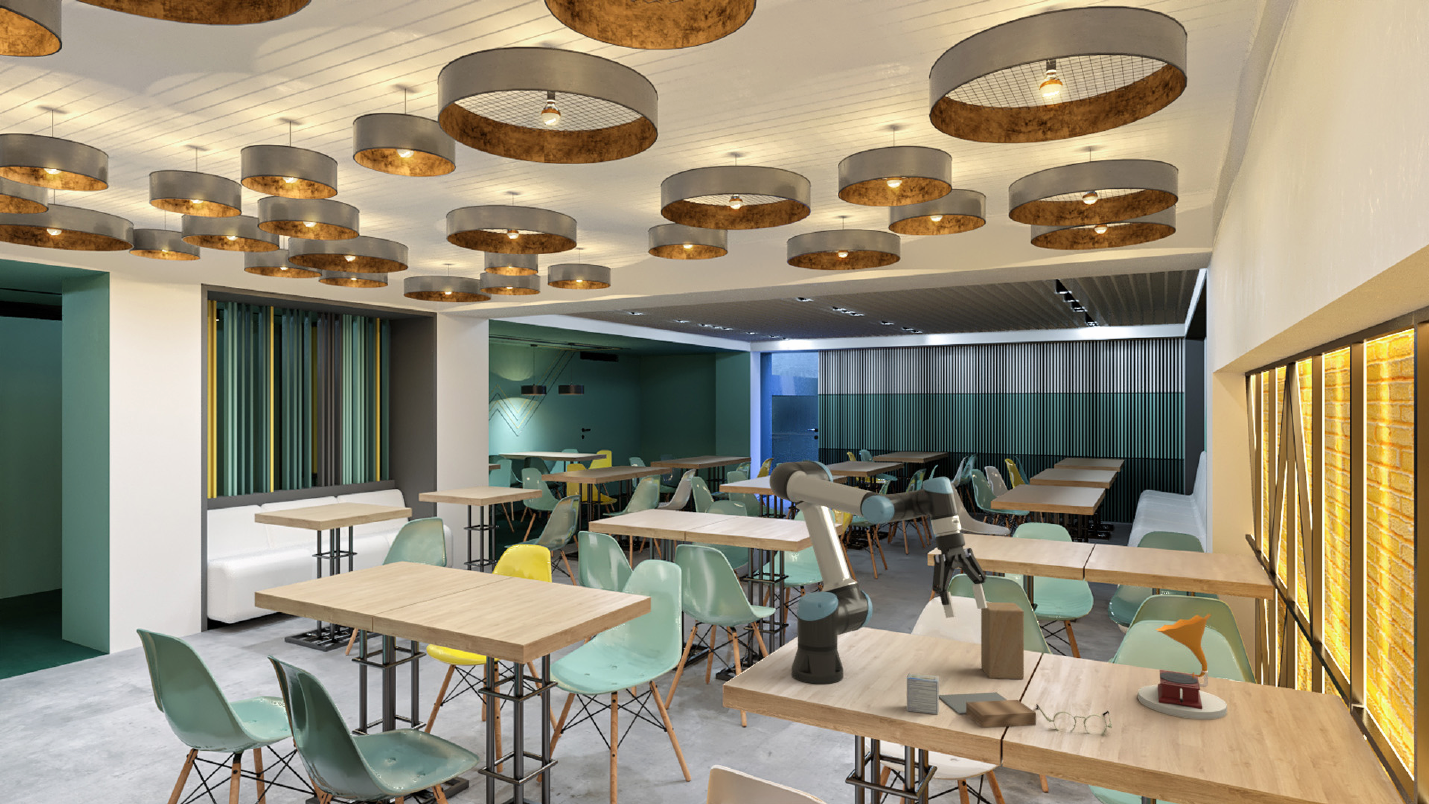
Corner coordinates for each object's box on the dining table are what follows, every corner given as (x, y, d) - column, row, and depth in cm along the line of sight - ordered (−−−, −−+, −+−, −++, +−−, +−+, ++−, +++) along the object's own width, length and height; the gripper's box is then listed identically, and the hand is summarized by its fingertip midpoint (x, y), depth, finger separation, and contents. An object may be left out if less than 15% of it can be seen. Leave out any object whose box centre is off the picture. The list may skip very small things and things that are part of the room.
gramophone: (1223, 699, 218) (1223, 607, 218) (1230, 725, 200) (1230, 624, 200) (1138, 687, 228) (1138, 598, 228) (1137, 710, 210) (1137, 614, 210)
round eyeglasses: (1042, 731, 197) (1042, 710, 197) (1034, 709, 212) (1034, 690, 212) (1118, 738, 193) (1118, 717, 193) (1105, 715, 207) (1105, 696, 207)
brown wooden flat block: (982, 727, 198) (982, 715, 198) (966, 714, 207) (966, 702, 207) (1035, 724, 200) (1035, 712, 200) (1017, 711, 209) (1017, 699, 209)
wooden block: (1014, 668, 243) (1014, 602, 243) (1024, 679, 233) (1024, 610, 234) (980, 667, 244) (980, 601, 244) (988, 678, 234) (988, 609, 235)
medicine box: (939, 709, 210) (939, 675, 210) (938, 715, 206) (938, 681, 206) (908, 705, 213) (908, 672, 213) (906, 711, 208) (906, 677, 208)
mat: (958, 714, 206) (958, 712, 206) (937, 696, 219) (937, 695, 219) (1020, 711, 209) (1021, 709, 209) (996, 693, 222) (996, 692, 222)
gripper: (929, 537, 210) (948, 620, 205) (987, 526, 224) (1006, 603, 220) (907, 541, 216) (925, 621, 211) (965, 530, 230) (983, 605, 226)
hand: (967, 612), depth 216 cm, fingers open, 13 cm apart
